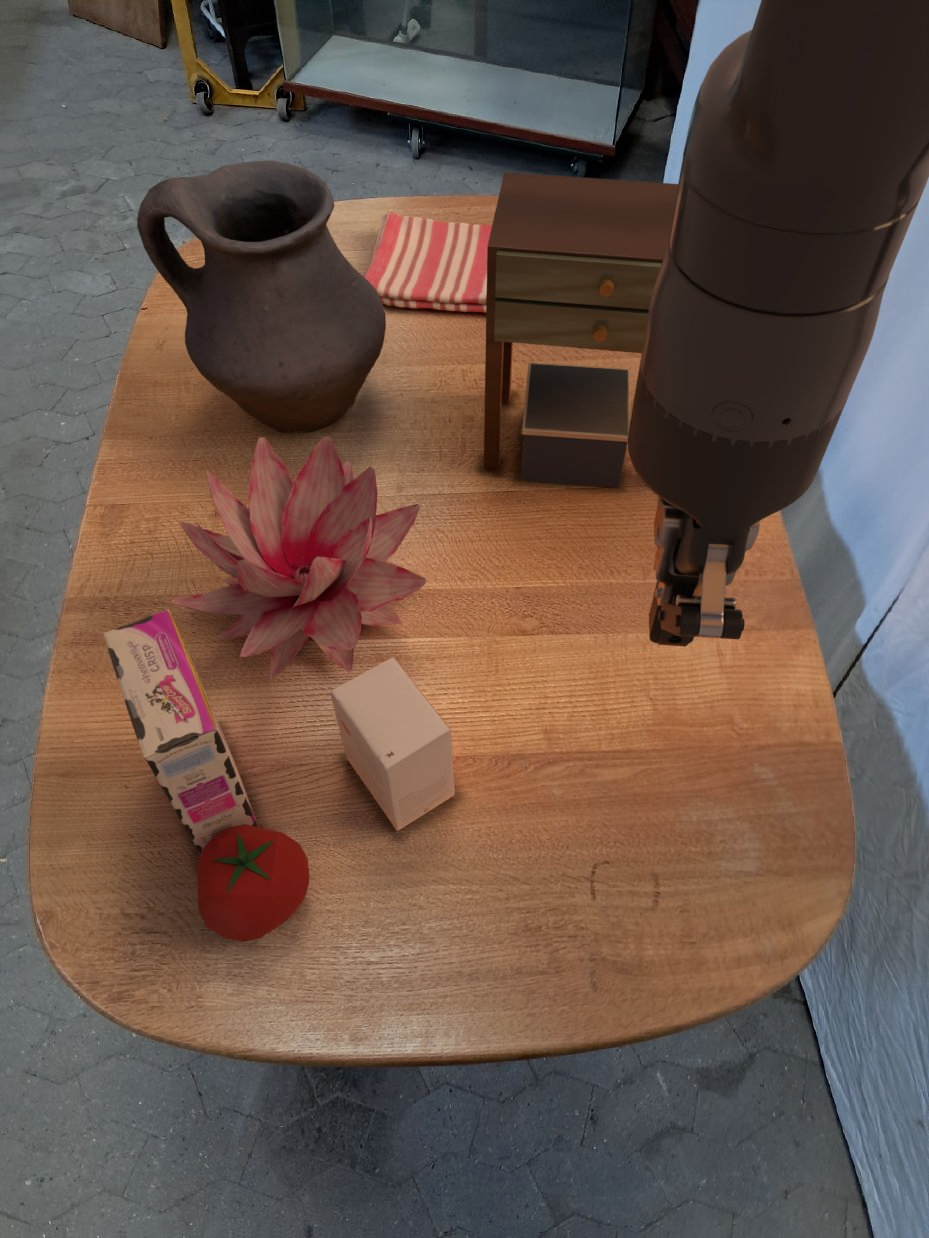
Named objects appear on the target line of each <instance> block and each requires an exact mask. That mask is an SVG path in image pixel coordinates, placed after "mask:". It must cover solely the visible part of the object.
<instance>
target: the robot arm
mask: <svg viewBox="0 0 929 1238" xmlns="http://www.w3.org/2000/svg"><path fill="white" fill-rule="evenodd" d="M688 124H689V125H688V129H687V134H686V138H685V142H684V143H685V144H684V148H683V152H682V161H681V165H680V170H679V171H680V172H679V177H678V183H677V184H678V188H677V194H676V200H675V206H674V211H673V217H672V223H671V229H670V234H669V239H668V243H667V247H666V251H665V255H664V258H663V261H662V264H661V267H660V270H659V273H658V276H657V279H656V282H655V285H654V289H653V292H652V297H651V302H650V307H649V313H648V319H647V325H646V331H645V337H644V343H643V349H642V353H641V355H640V359H639V365H638V366H639V367H638V372H637V378H636V385H635V390H634V396H633V403H632V408H631V409H632V410H631V413H630V426H629V432H628V442H627V450H628V456H629V459H630V461H631V465H632V467H633V468H634V470H635V472H636V474H637V476H638V477H639V478H640V480H641V481H642V482H643V483H644V484H645V486H646V487H647V488H648V489H649V490H650V491H652V493H654V494H655V495H656V496H657V505H656V509H655V510H656V511H655V515H654V519H653V536H654V545H655V547H656V551H655V555H654V564H653V569H654V570H653V571H655V580H656V584H655V588H654V591H653V596H652V600H651V603H650V607H649V612H648V633H649V634H648V635H649V636H648V637H649V641H650V642H652V643H653V644H657V645H658V646H672V647H687V646H688V645H689V644H691V643H692V642H693V641H694V639H695V638H706V639H707V638H709V639H724V640H740V639H741V637H742V634H743V631H744V630H745V625H746V624H745V623H746V621H745V618H744V617H743V611H742V609H738V608H736V607H737V599H736V598H735V597H726V587H727V586H729V585H731V584H732V583H733V581H734V579H735V576H736V573H737V571H738V570H739V569H740V568H741V566H742V565H743V563H744V559H745V557H746V552H747V551H750V550H751V549H753V547H754V544H755V542H756V539H757V537H758V535H759V532H760V525H761V521H762V520H764V519H765V518H768V517H770V516H772V515H774V514H776V513H778V512H780V511H782V510H784V509H786V508H788V507H789V506H791V505H793V504H794V503H795V502H796V501H798V500H799V499H800V498H801V497H802V496H803V495H805V493H806V492H807V491H808V490H809V488H810V487H811V486H812V484H813V482H814V480H815V478H816V476H817V474H818V471H819V469H820V466H821V464H822V462H823V460H824V457H825V455H826V452H827V450H828V447H829V445H830V442H831V440H832V437H833V435H834V433H835V430H836V428H837V425H838V423H839V421H840V418H841V416H842V414H843V411H844V408H845V406H846V403H847V402H848V399H849V396H850V394H851V392H852V389H853V388H854V384H855V383H856V380H857V377H858V375H859V372H860V371H861V367H862V365H863V363H864V360H865V358H866V355H867V353H868V351H869V348H870V346H871V344H872V341H873V338H874V334H875V330H876V326H877V322H878V318H879V315H880V310H881V305H882V300H883V297H884V293H885V290H886V288H887V284H888V282H889V278H890V274H891V271H892V270H893V267H894V264H895V262H896V260H897V257H898V256H899V253H900V249H901V247H902V245H903V243H904V240H905V238H906V236H907V233H908V230H909V228H910V226H911V222H912V220H913V218H914V215H915V213H916V211H917V208H918V206H919V203H920V200H921V199H922V195H923V193H924V191H925V188H926V186H927V183H928V180H929V0H760V3H759V7H758V10H757V13H756V16H755V19H754V23H753V26H752V28H751V29H750V30H748V31H746V32H744V33H742V34H740V35H739V36H738V37H736V38H735V39H734V40H732V41H731V42H730V43H729V44H727V45H726V46H725V47H724V48H723V49H722V50H721V51H720V53H719V54H718V55H717V56H716V57H715V59H714V60H713V61H712V62H711V64H710V65H709V68H708V70H707V72H706V74H705V76H704V78H703V80H702V83H701V84H700V86H699V89H698V92H697V96H696V98H695V101H694V105H693V108H692V112H691V116H690V120H689V123H688Z"/></svg>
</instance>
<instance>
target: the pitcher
mask: <svg viewBox="0 0 929 1238" xmlns="http://www.w3.org/2000/svg"><path fill="white" fill-rule="evenodd" d="M334 209H335V201H334V197H333V194H332V191H331V189H330V188H329V187H328V185H327V183H326V181H324V180H323V178H321V177H320V175H317V173H314V172H312V171H311V170H308V169H306V168H305V167H301V166H299V165H296V164H292V163H288V162H282V161H277V160H257V161H256V160H255V161H247V162H246V161H245V162H239V163H233V164H226V165H223V166H220V167H219V168H217V169H215V170H213V171H212V172H210V173H207V174H201V175H196V176H178V177H177V176H175V177H169V178H166V179H163V180H161V181H159V182H158V183H156V184H155V185H153V186H152V187H151V188H149V190H148V191H147V193H145V196H144V198H143V199H142V200H141V203H140V205H139V208H138V212H137V219H136V220H137V221H136V225H137V226H136V228H137V231H138V234H139V237H140V239H141V243H142V246H143V249H144V250H145V253H146V255H147V256H148V258H149V260H150V262H151V263H152V265H153V266H154V267H155V269H156V270H157V272H158V273H159V274H160V276H161V278H163V280H164V281H165V282H166V283H167V284H168V286H169V287H170V288H171V289H172V290H173V292H174V293H175V294H176V296H177V297H178V299H179V300H180V302H181V303H182V304H183V306H184V307H185V310H186V323H185V329H184V345H185V348H186V352H187V354H188V356H189V358H190V360H191V362H192V363H193V365H194V367H195V368H196V369H197V371H198V372H199V373H200V375H202V377H203V378H205V380H207V382H209V383H210V384H211V385H212V386H213V387H215V389H217V390H218V391H220V393H222V394H224V395H225V396H226V397H228V398H229V399H231V400H232V401H234V402H235V403H236V405H238V406H239V407H240V409H241V410H242V411H244V412H245V413H246V414H247V415H249V416H250V417H252V418H253V419H255V420H256V421H257V422H259V423H261V424H263V425H264V426H266V427H268V428H270V429H273V430H275V431H277V432H278V433H283V434H285V433H313V432H316V431H318V430H322V429H325V428H327V427H331V426H332V425H333V424H334V423H336V422H338V421H340V419H341V418H342V417H344V416H345V415H346V414H347V412H348V411H349V409H350V408H351V407H352V406H353V405H354V403H355V401H356V399H357V396H358V394H359V393H360V391H361V390H362V388H363V385H364V384H365V382H366V379H367V378H368V375H369V374H370V373H371V371H372V369H373V368H374V366H375V364H376V362H377V360H378V359H379V357H380V355H381V352H382V349H383V346H384V343H385V337H386V331H387V330H386V329H387V321H386V320H387V319H386V318H387V317H386V316H387V315H386V311H385V308H384V305H383V304H384V303H382V301H381V299H380V297H379V295H378V292H377V291H376V290H375V288H374V287H373V285H372V284H371V283H370V282H369V281H368V280H367V279H366V278H365V277H364V275H362V273H360V271H358V269H356V268H355V267H354V266H353V265H352V264H351V262H350V261H349V260H348V259H347V258H346V257H345V256H344V254H343V253H342V251H341V250H340V249H339V247H338V245H337V244H336V242H335V240H334V238H333V236H332V234H331V232H330V230H329V227H328V222H329V220H330V217H331V215H332V214H333V211H334ZM166 218H173V219H175V220H176V221H178V222H179V223H181V225H183V226H184V227H186V229H188V230H189V231H190V232H191V233H192V234H193V235H194V236H195V237H196V238H197V239H198V241H200V243H201V245H202V247H203V252H204V265H202V266H201V267H195V268H194V267H192V266H189V265H188V263H187V262H186V261H185V260H184V259H183V257H182V256H181V254H180V252H179V251H178V249H177V248H176V247H175V244H174V242H173V241H172V240H171V238H170V235H169V233H168V232H167V230H166V221H165V219H166Z"/></svg>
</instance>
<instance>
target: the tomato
mask: <svg viewBox="0 0 929 1238" xmlns="http://www.w3.org/2000/svg"><path fill="white" fill-rule="evenodd" d="M309 868H310V867H309V858H308V856H307V855H306V853H305V851H304V849H303V847H302V846H301V844H300V843H299V842H298V841H296V840H295V839H293V838H292V837H290V836H288V835H287V834H285V833H284V832H282V831H278V830H273V829H269V828H263V827H260V826H259V827H256V826H251V825H247V824H243V825H238V826H233V827H228V828H226V829H225V830H223V831H221V832H220V833H218V834H216V835H215V836H213V837H212V838H211V840H210V841H209V842H208V843H207V844H206V845H205V847H204V848H203V849H202V852H201V854H200V853H199V857H198V860H197V863H196V889H197V890H196V891H197V895H196V896H197V908H198V913H199V915H200V916H201V919H202V921H203V923H204V926H205V927H206V928H207V929H209V930H211V931H212V932H214V933H215V934H216V935H218V936H220V937H222V938H224V939H226V940H229V941H230V940H231V941H235V942H242V943H244V942H248V941H253V940H257V939H262V938H263V937H264V936H267V934H269V933H270V932H272V931H274V930H275V929H277V928H278V927H280V926H281V925H282V924H284V923H285V922H286V921H288V920H289V918H291V916H293V915H294V914H295V913H296V912H297V911H298V909H299V908H300V906H301V905H302V903H303V902H304V901H305V899H306V896H307V891H308V889H309V886H310V869H309Z"/></svg>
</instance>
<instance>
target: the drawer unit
mask: <svg viewBox="0 0 929 1238" xmlns="http://www.w3.org/2000/svg"><path fill="white" fill-rule="evenodd" d="M502 175H503V176H502V180H501V185H500V189H499V193H498V199H497V202H496V206H495V210H494V211H495V212H494V215H493V220H492V224H491V225H492V229H491V233H490V237H489V242H488V246H487V299H486V313H485V356H484V357H485V361H484V362H485V363H484V367H485V368H484V411H483V413H484V414H483V415H484V420H483V470H490V471H498V470H499V466H500V458H501V457H500V454H501V453H500V452H501V431H502V430H501V426H502V404H503V405H506V404H507V405H510V400H511V392H512V372H513V371H512V370H513V349H514V344H525V345H526V344H527V345H528V344H529V345H539V346H549V347H550V346H551V347H562V348H573V349H584V350H585V349H586V350H596V351H607V352H608V351H609V352H621V353H633V354H642V349H643V343H644V337H645V331H646V325H647V319H648V313H649V307H650V302H651V297H652V292H653V289H654V285H655V282H656V279H657V276H658V273H659V270H660V267H661V264H662V261H663V258H664V255H665V251H666V247H667V243H668V239H669V234H670V229H671V223H672V217H673V211H674V206H675V200H676V194H677V188H678V183H669V182H667V183H666V182H653V181H639V180H627V179H626V180H624V179H623V180H622V179H608V178H595V177H594V178H593V177H582V176H581V177H580V176H567V175H566V176H565V175H550V174H537V173H536V174H535V173H521V172H508V171H507V172H506V171H505V172H503V174H502Z"/></svg>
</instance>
